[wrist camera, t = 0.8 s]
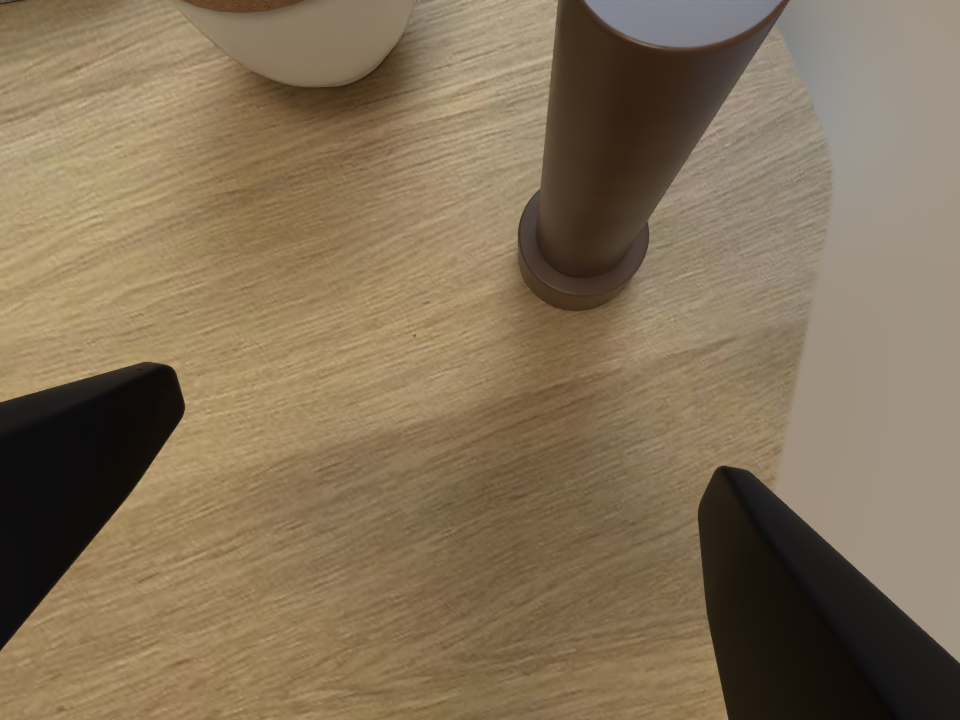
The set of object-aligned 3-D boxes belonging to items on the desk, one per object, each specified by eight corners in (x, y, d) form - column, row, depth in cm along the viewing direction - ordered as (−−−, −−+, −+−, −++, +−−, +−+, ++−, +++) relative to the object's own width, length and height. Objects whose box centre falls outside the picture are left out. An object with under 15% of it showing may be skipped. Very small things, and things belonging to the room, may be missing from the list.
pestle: (649, 293, 21) (910, 40, 7) (534, 324, 21) (567, 137, 7) (615, 187, 21) (792, -239, 8) (505, 217, 22) (483, -142, 8)
